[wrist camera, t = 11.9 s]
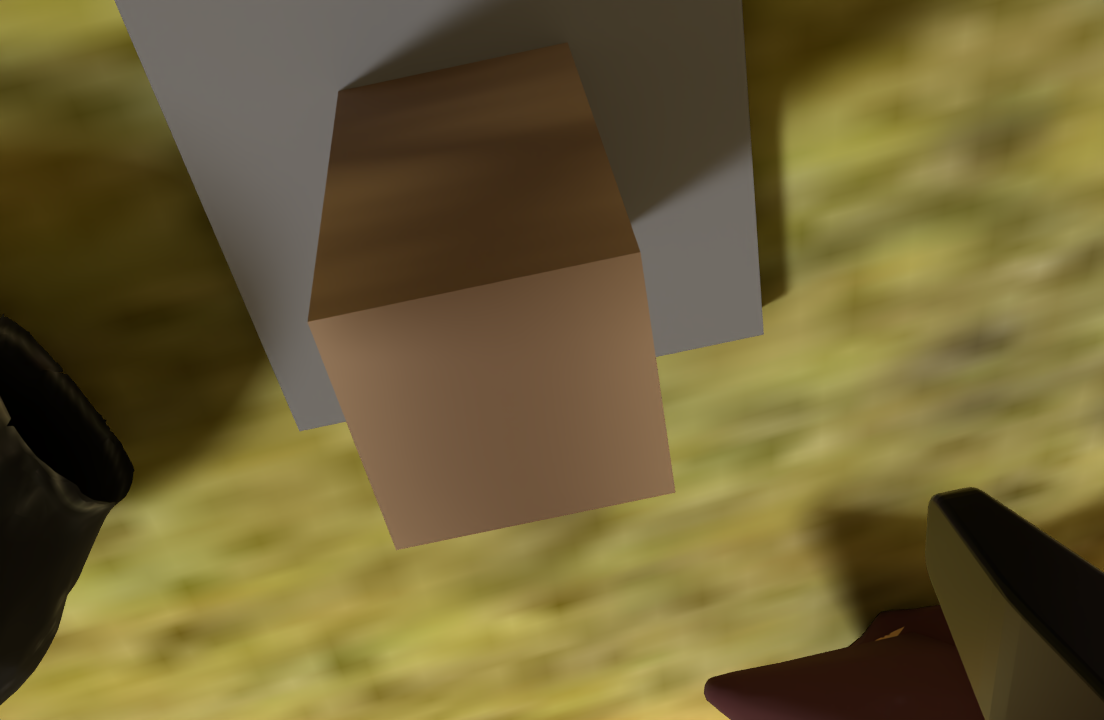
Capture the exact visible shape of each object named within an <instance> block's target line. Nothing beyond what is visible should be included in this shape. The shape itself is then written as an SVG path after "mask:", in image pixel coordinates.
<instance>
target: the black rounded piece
mask: <svg viewBox="0 0 1104 720" xmlns="http://www.w3.org/2000/svg"><path fill="white" fill-rule="evenodd" d="M59 372H63V370H62V368H61V367H60V365H59V364H58V363H56V362H55V361H54V360H53V359H52V357H51V356H50V355H49V354H48V353H47V352H46V351H45V350H44V349H43V348H42V347H41V346H40V345H39V344H38V343H37V342H36V340H35V339H34V338H33V337H32V335H31V334H30V332H28V331H26V330H25V329H23V328H22V327H21V326H19V325H18V324H17V323H15V322H14V321H12V320H11V319H9V318H8V317H4V314H3V315H2V316H1V317H0V705H1V704H2V703H3V702H4V701H6V700H7V699H8V698H9V697H10V696H11V695H12V694H14V693H15V692H16V691H17V690H18V689H19V688H20V687H21V685H22V684H23V683H24V682H25V681H26V680H27V679H28V678H29V676H30V675H31V674H32V673H33V672H34V671H35V669H36V668H37V666H38V665H39V663H40V662H41V660H42V658H43V657H44V655H45V654H46V652H47V650H48V648H49V647H50V645H51V643H52V641H53V639H54V637H55V635H56V633H57V630H58V628H59V624H60V620H61V617H62V613H63V609H64V606H65V602H66V598H67V595H68V594H69V592H70V591H71V590H72V588H73V587H74V585H75V583H76V582H77V580H78V578H79V576H80V574H81V572H82V569H83V567H84V564H85V562H86V560H87V557H88V555H89V553H90V551H91V548H92V546H93V544H94V542H95V539H96V537H97V535H98V533H99V530H100V528H101V526H102V524H103V522H104V520H105V518H106V516H107V515H108V513H109V512H110V510H111V509H112V508H113V507H114V506H115V505H116V504H117V503H118V502H120V501H121V500H122V499H123V498H124V497H125V496H126V495H127V493H128V491H129V489H130V487H131V484H132V480H133V472H134V467H133V465H132V463H131V461H130V459H129V457H128V455H127V453H126V452H125V450H124V448H123V446H122V444H121V442H120V441H119V440H118V439H117V437H116V436H115V435H114V433H113V432H111V431H110V429H109V427H108V426H107V425H106V420H104V419H103V418H102V416H101V415H100V414H99V413H98V412H97V411H96V410H95V409H94V407H93V406H92V405H91V404H90V402H89V401H88V400H87V398H86V397H85V396H84V395H83V393H82V392H81V390H80V389H79V387H78V386H77V385H76V384H75V383H74V381H73V380H72V379H71V378H70V377H69V376H68V375H67V374H63V373H59Z"/></svg>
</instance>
